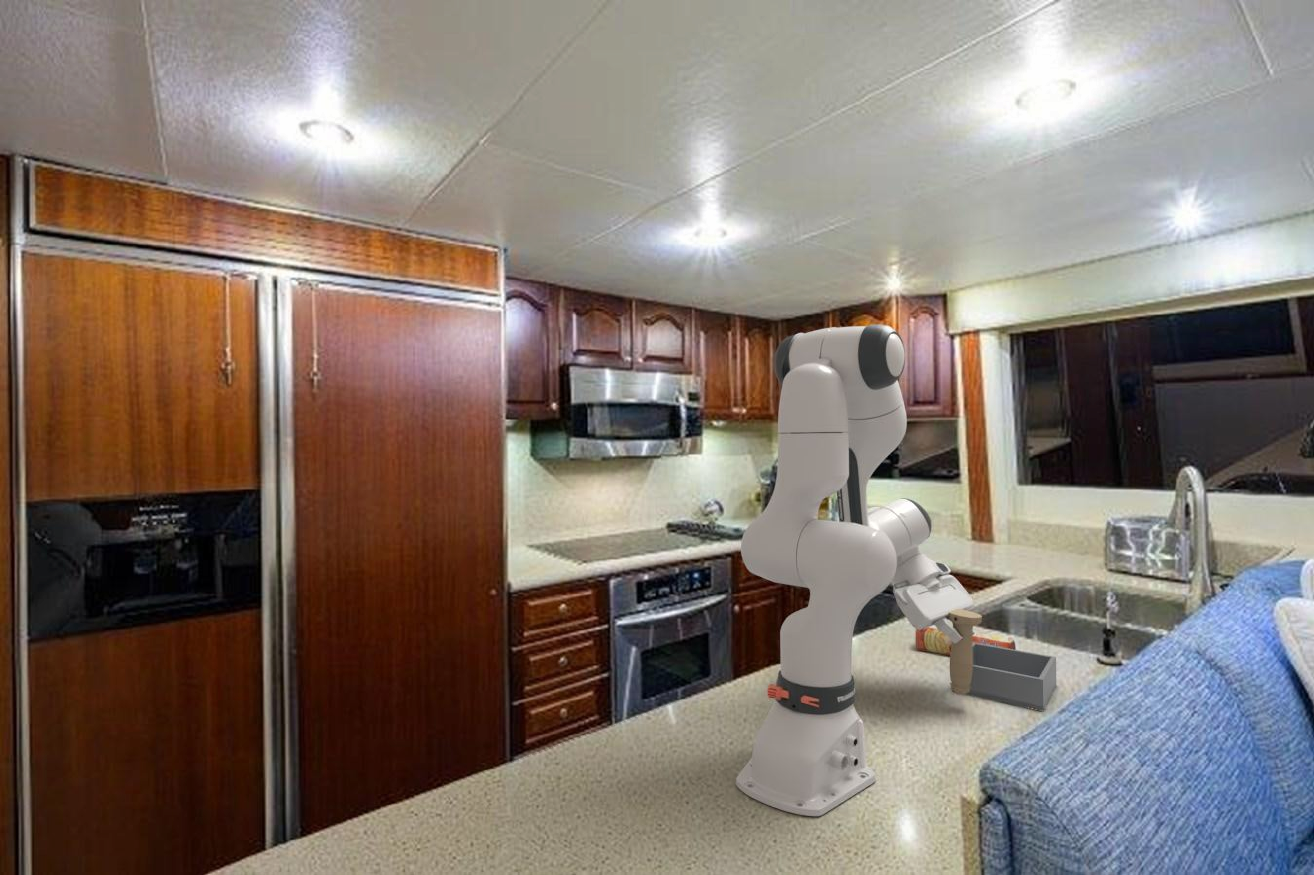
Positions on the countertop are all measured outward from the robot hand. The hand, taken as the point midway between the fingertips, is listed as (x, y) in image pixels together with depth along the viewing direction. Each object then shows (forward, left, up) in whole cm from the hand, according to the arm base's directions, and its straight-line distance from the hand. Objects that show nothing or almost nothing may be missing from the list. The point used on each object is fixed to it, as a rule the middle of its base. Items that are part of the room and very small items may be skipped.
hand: (965, 638), depth 122 cm
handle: (0, +1, -10) cm, 10 cm away
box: (+17, -3, -14) cm, 22 cm away
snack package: (+33, +8, -14) cm, 37 cm away
